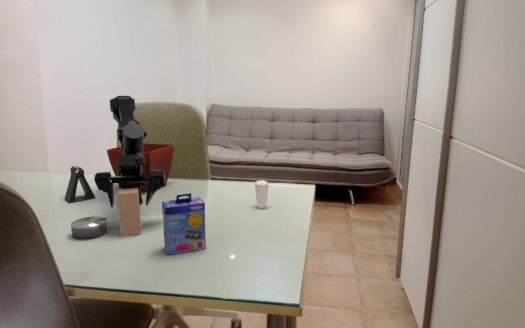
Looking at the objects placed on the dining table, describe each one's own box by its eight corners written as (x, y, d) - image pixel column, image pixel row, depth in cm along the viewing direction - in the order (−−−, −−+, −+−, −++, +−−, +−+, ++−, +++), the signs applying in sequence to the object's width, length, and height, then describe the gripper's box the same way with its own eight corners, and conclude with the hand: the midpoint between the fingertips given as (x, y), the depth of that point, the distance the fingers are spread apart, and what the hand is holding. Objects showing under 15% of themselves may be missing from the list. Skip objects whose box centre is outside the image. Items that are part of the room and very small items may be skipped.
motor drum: (109, 226, 110) (108, 215, 109) (105, 238, 102) (104, 225, 101) (76, 229, 108) (74, 217, 107) (68, 241, 99) (67, 229, 99)
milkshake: (269, 209, 124) (269, 180, 122) (253, 208, 125) (253, 179, 123) (272, 205, 128) (271, 177, 127) (256, 204, 130) (256, 176, 128)
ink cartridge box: (167, 256, 90) (163, 197, 87) (163, 247, 95) (159, 191, 92) (207, 248, 94) (205, 192, 91) (201, 241, 99) (199, 187, 96)
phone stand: (69, 203, 133) (65, 170, 131) (64, 199, 138) (60, 167, 136) (95, 198, 139) (92, 166, 137) (90, 195, 144) (87, 164, 141)
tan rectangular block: (141, 228, 109) (138, 187, 106) (140, 234, 104) (137, 192, 101) (122, 230, 107) (119, 189, 105) (121, 236, 103) (117, 193, 100)
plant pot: (151, 195, 142) (148, 151, 139) (109, 192, 147) (105, 149, 144) (177, 183, 160) (175, 144, 157) (138, 181, 165) (135, 142, 162)
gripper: (92, 144, 104) (85, 193, 96) (162, 141, 108) (161, 188, 99) (101, 166, 113) (96, 213, 105) (165, 163, 117) (165, 208, 108)
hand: (129, 205), depth 104 cm, fingers open, 9 cm apart
